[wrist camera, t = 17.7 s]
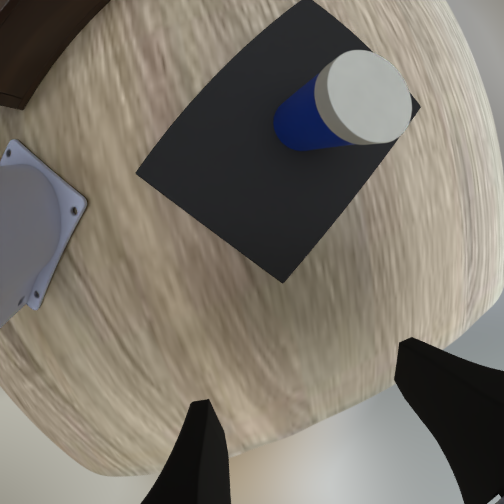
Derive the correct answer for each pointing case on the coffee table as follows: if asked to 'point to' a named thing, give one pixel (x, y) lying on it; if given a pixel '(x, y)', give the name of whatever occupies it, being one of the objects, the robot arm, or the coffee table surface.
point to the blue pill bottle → (346, 105)
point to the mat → (264, 147)
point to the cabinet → (36, 41)
